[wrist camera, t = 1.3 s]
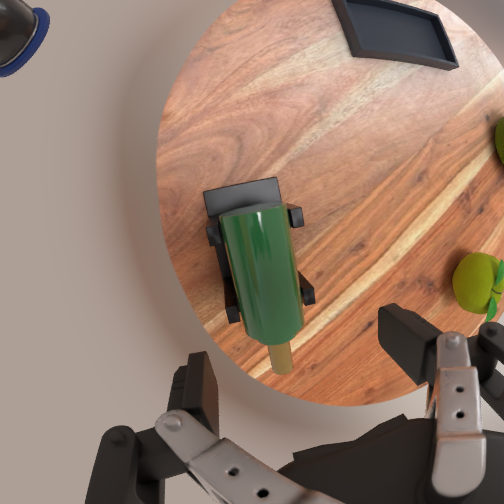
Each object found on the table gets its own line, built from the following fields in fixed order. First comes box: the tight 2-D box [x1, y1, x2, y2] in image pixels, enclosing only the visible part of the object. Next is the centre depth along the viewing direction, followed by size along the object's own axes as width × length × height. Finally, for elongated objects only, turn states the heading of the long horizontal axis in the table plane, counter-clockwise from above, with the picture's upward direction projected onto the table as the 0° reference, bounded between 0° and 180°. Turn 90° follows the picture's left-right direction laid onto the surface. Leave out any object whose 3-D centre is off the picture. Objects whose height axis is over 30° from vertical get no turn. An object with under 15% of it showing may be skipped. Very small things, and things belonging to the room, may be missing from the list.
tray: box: [332, 0, 459, 71], centre depth 26 cm, size 19×10×3 cm, turn 101°
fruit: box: [452, 252, 504, 323], centre depth 32 cm, size 9×9×10 cm
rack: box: [203, 177, 316, 324], centre depth 28 cm, size 14×8×9 cm, turn 11°
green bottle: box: [219, 202, 305, 375], centre depth 23 cm, size 15×5×5 cm, turn 11°
